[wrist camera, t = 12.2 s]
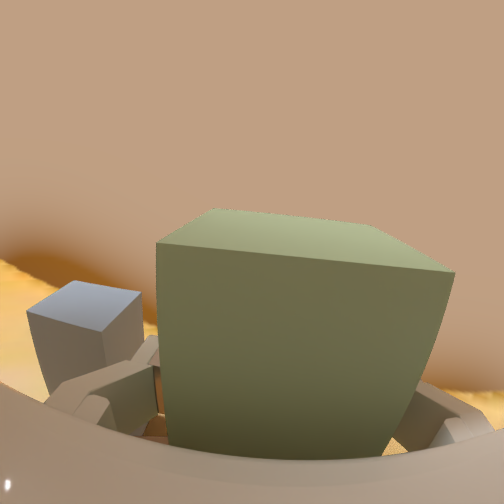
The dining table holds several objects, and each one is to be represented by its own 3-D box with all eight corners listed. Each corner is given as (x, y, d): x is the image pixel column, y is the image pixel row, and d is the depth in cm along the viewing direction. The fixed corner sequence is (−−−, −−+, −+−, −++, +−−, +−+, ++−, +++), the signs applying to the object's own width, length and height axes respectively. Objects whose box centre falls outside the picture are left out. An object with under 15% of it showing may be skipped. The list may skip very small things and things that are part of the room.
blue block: (67, 437, 15) (26, 310, 12) (95, 397, 20) (74, 280, 17) (130, 460, 15) (101, 331, 12) (152, 413, 19) (141, 292, 17)
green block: (184, 524, 7) (155, 242, 5) (206, 435, 12) (213, 208, 9) (325, 533, 7) (455, 272, 4) (314, 443, 12) (370, 225, 9)
